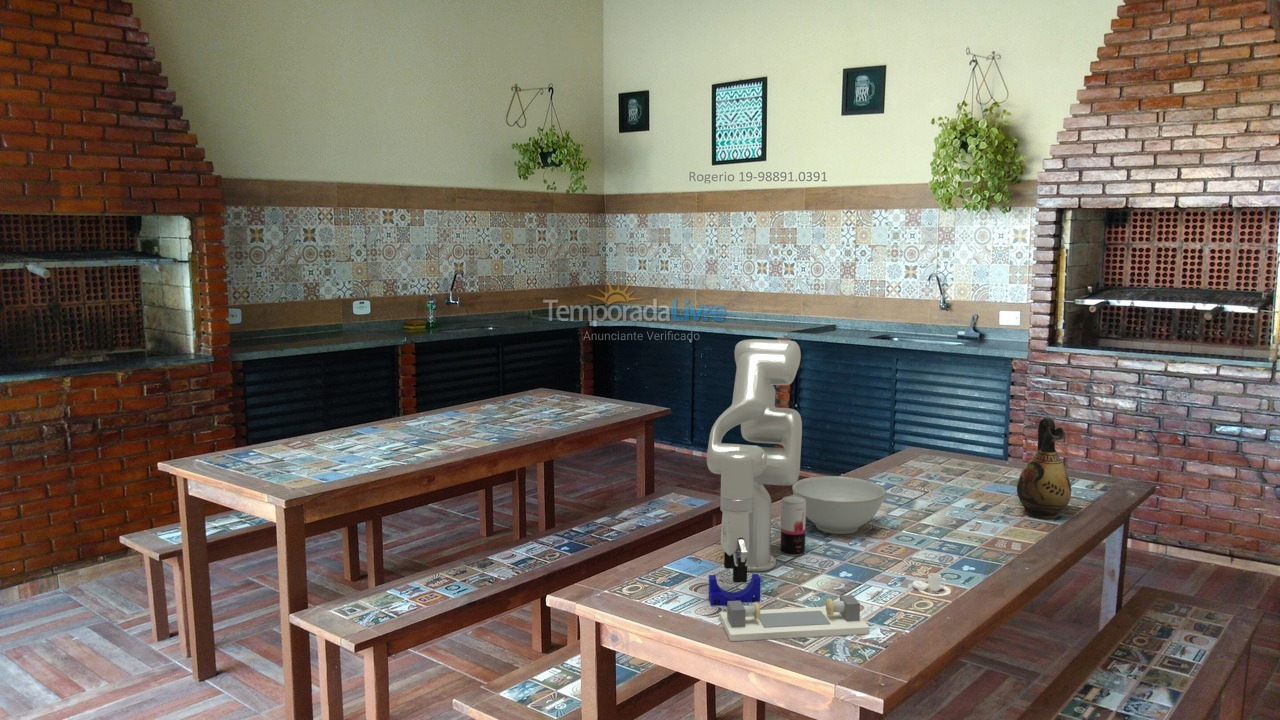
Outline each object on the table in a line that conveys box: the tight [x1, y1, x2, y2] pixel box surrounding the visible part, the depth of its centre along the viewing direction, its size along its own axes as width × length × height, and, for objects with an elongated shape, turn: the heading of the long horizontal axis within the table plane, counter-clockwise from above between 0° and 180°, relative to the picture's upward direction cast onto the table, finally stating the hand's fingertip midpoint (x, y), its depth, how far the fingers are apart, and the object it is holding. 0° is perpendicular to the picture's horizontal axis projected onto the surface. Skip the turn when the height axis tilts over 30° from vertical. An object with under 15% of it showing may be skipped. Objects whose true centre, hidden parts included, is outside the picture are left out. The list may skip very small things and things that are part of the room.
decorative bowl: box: [791, 475, 886, 535], centre depth 275 cm, size 27×27×12 cm
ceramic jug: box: [1016, 417, 1072, 520], centre depth 287 cm, size 17×15×30 cm
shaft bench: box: [719, 594, 870, 642], centre depth 208 cm, size 12×31×6 cm, turn 97°
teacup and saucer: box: [912, 572, 952, 597], centre depth 229 cm, size 9×8×4 cm
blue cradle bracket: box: [708, 573, 762, 607], centre depth 222 cm, size 12×4×6 cm, turn 93°
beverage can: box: [780, 495, 807, 557], centre depth 254 cm, size 7×7×15 cm
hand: (735, 574), depth 219 cm, fingers open, 9 cm apart
